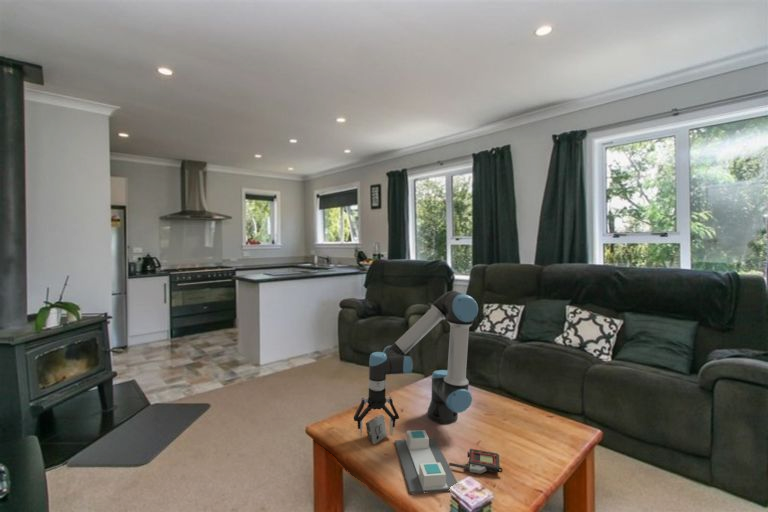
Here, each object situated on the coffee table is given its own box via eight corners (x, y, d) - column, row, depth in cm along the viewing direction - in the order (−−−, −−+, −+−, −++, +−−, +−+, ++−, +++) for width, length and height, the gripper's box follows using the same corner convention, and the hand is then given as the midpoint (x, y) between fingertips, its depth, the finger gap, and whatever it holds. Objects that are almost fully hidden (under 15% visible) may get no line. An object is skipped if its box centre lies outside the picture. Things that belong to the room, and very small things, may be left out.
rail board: (434, 440, 157) (435, 427, 157) (459, 490, 126) (460, 474, 125) (395, 442, 155) (395, 429, 155) (410, 494, 123) (410, 478, 123)
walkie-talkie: (503, 474, 131) (448, 464, 137) (502, 482, 133) (448, 471, 138) (502, 453, 139) (450, 444, 144) (501, 460, 141) (450, 451, 146)
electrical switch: (374, 445, 152) (373, 423, 153) (365, 442, 156) (364, 420, 156) (387, 436, 160) (386, 415, 160) (378, 433, 163) (377, 413, 163)
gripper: (349, 392, 151) (348, 440, 152) (406, 390, 155) (405, 437, 156) (348, 385, 159) (347, 431, 160) (403, 383, 162) (401, 428, 163)
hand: (376, 434), depth 158 cm, fingers open, 13 cm apart
